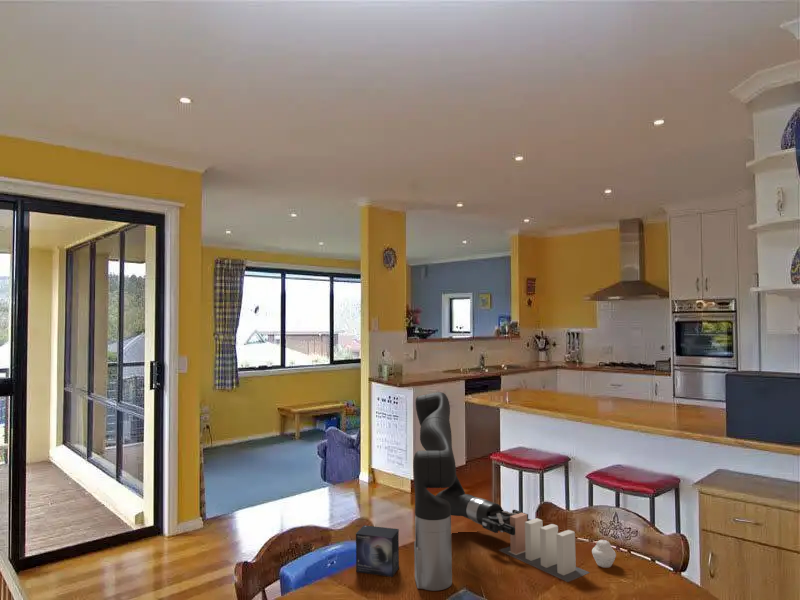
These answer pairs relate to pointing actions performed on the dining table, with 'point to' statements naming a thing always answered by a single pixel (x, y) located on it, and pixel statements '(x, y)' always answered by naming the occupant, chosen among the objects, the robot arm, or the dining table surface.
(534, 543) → the ivory domino
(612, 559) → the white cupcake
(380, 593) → the dining table surface
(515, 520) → the terracotta domino
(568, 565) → the ivory domino
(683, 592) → the dining table surface
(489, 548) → the dining table surface
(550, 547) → the ivory domino
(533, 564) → the domino mat
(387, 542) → the small box
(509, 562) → the dining table surface
